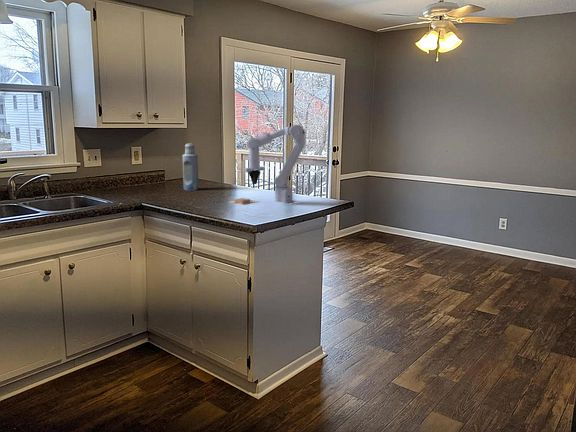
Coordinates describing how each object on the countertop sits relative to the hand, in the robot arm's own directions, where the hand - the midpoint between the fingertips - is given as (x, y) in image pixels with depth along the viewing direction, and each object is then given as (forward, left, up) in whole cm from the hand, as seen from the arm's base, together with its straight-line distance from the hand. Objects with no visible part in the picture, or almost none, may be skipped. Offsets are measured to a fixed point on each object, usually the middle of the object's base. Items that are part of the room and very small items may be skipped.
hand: (254, 184), depth 276 cm
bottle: (+63, -5, -10) cm, 64 cm away
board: (0, +9, -10) cm, 13 cm away
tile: (-1, +8, -8) cm, 11 cm away
